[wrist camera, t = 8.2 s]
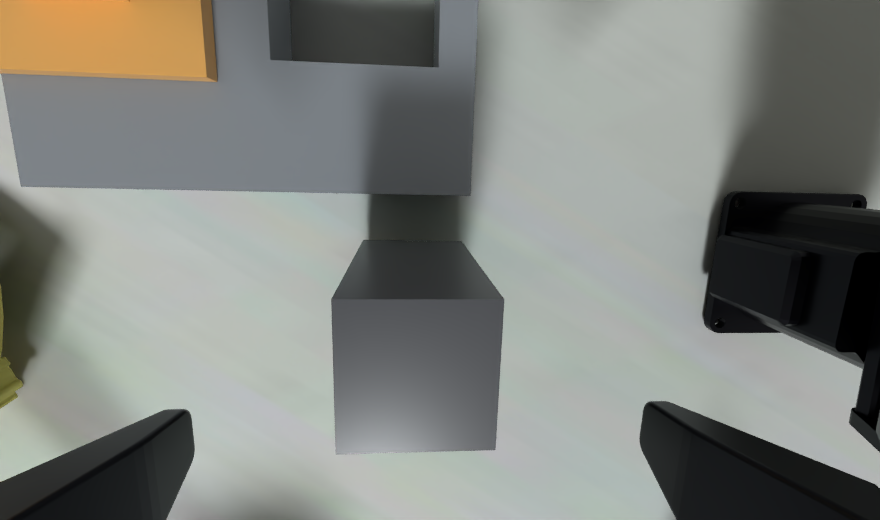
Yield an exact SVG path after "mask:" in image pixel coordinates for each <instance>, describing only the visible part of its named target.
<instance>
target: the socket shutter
mask: <svg viewBox="0 0 880 520" xmlns="http://www.w3.org/2000/svg"><path fill="white" fill-rule="evenodd" d="M0 73H4V74H29V75H54V76H79V77H104V78H129V79H154V80H179V81H204V82H217V69H216V56H215V43H214V30H213V17H212V4H211V0H0Z"/></svg>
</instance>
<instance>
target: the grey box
mask: <svg viewBox="0 0 880 520" xmlns="http://www.w3.org/2000/svg"><path fill="white" fill-rule="evenodd" d="M331 303H332V339H333V374H334V410H335V446H336V454H367V453H403V452H439V451H475V450H495V447H496V430H497V413H498V396H499V379H500V362H501V345H502V329H503V312H504V299H503V297H502V296H501V294H500V293H499V292H498V290H497V289H496V288H495V286H494V285H493V284H492V282H491V281H490V279H489V278H488V277H487V275H486V274H485V273H484V271H483V270H482V269H481V267H480V266H479V264H478V263H477V262H476V260H475V259H474V258H473V256H472V255H471V254H470V252H469V251H468V250H467V248H466V247H465V245H464V244H463V243H462V241H404V240H363V242H362V244H361V245H360V247H359V249H358V251H357V253H356V255H355V257H354V258H353V260H352V262H351V264H350V266H349V268H348V270H347V271H346V273H345V275H344V277H343V279H342V281H341V283H340V284H339V286H338V288H337V290H336V292H335V294H334V295H333V297H332V299H331Z"/></svg>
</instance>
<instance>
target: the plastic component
mask: <svg viewBox="0 0 880 520" xmlns="http://www.w3.org/2000/svg"><path fill="white" fill-rule="evenodd" d="M3 321H4V315H3V304H2V293H1V285H0V408H2V407H3V406H5V405H6V404H8V403H9V402H11V401H13V400H14V399H16V398H17V397H18V395H17V394H16V392H15V391H16V390H18V389H19V388H21V387H22V386H23V383H22V381H21V380H19V379H17V378H16V377H15V375H14V373H13V371H12V370H11V368H10V367H9V365H10V362H9V361H8V359H7V358H6V357H1V353H2V343H3Z"/></svg>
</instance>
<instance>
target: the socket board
mask: <svg viewBox="0 0 880 520" xmlns="http://www.w3.org/2000/svg"><path fill="white" fill-rule="evenodd" d="M211 4H212V17H213V30H214V43H215V56H216V69H217V82H204V81H179V80H154V79H129V78H104V77H79V76H54V75H29V74H4V73H1V75H2V81H3V86H4V92H5V98H6V104H7V109H8V115H9V121H10V127H11V132H12V138H13V144H14V150H15V155H16V161H17V167H18V172H19V178H20V184H21V187H66V188H115V189H164V190H212V191H261V192H310V193H359V194H408V195H456V196H470V194H471V169H472V144H473V119H474V94H475V69H476V44H477V19H478V0H435V13H434V60H433V67H416V66H394V65H371V64H349V63H326V62H304V61H292V41H291V17H290V0H211Z"/></svg>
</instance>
